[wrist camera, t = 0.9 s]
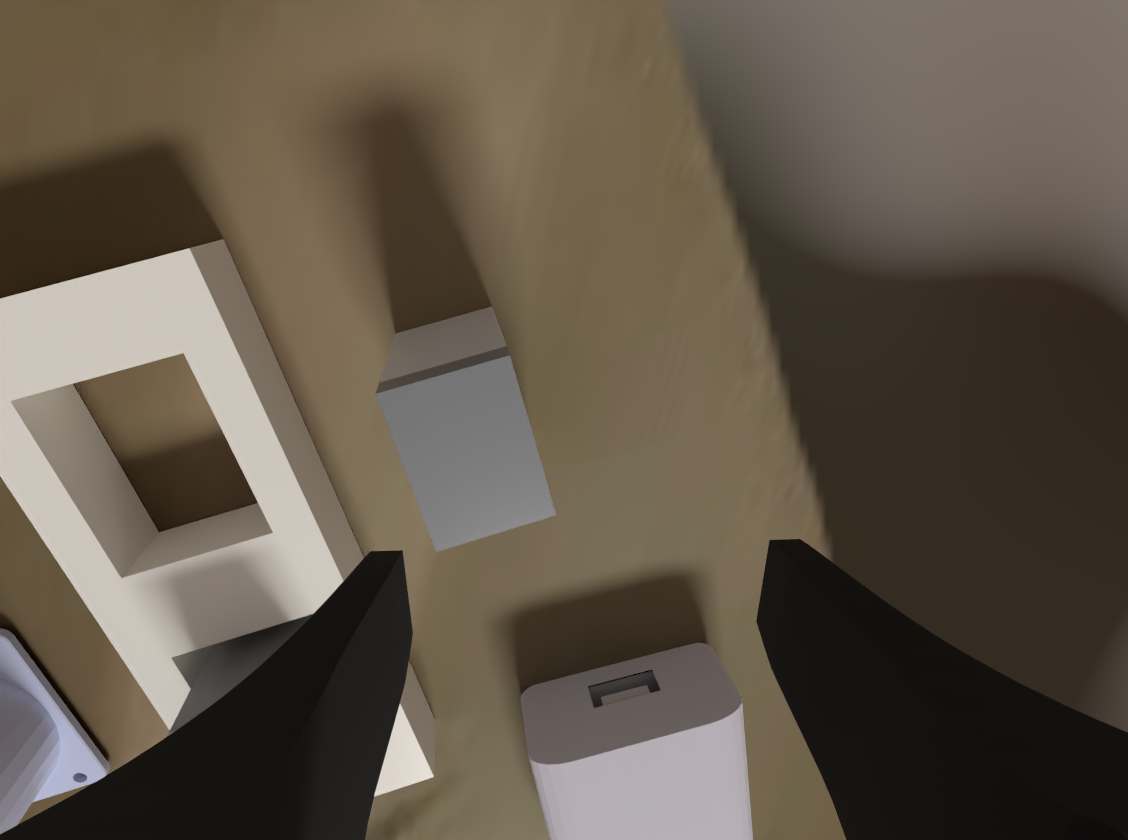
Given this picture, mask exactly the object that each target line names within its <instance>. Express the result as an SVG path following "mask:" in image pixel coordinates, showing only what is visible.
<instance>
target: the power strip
mask: <svg viewBox="0 0 1128 840" xmlns="http://www.w3.org/2000/svg"><path fill="white" fill-rule="evenodd" d="M181 353H184V355H185V357H186V359H187V361H188V363H189V365H190V367H191V369H192V371H193V373H194V375H195V377H196V379H197V381H198V383H199V385H200V387H201V389H202V391H203V393H204V395H205V397H206V399H207V401H208V403H209V405H210V407H211V409H212V411H213V413H214V415H215V417H216V419H217V421H218V423H219V425H220V427H221V429H222V431H223V433H224V435H225V437H226V439H227V441H228V443H229V445H230V447H231V449H232V451H233V453H234V455H235V457H236V459H237V461H238V463H239V465H240V467H241V469H242V471H243V473H244V476H245V478H246V480H247V482H248V484H249V486H250V488H251V490H252V492H253V494H254V496H255V498H256V500H257V502H258V503H256V504H253V505H249V506H246V507H242V508H239V509H236V510H232V511H229V512H226V513H222V514H219V515H215V516H212V517H209V518H205V519H202V520H198V521H195V522H192V523H188V524H185V525H182V526H178V527H175V528H171V529H168V530H165V531H161V532H158V530H157V528H156V526H155V525H154V523H153V521H152V519H151V518H150V516H149V514H148V513H147V511H146V509H145V507H144V506H143V504H142V502H141V500H140V499H139V497H138V495H137V494H136V492H135V490H134V488H133V487H132V485H131V483H130V481H129V480H128V478H127V476H126V475H125V473H124V471H123V469H122V468H121V466H120V464H119V463H118V461H117V459H116V457H115V456H114V454H113V452H112V450H111V449H110V447H109V445H108V444H107V442H106V440H105V438H104V437H103V435H102V433H101V431H100V430H99V428H98V426H97V425H96V423H95V421H94V419H93V418H92V416H91V414H90V412H89V411H88V409H87V407H86V406H85V404H84V402H83V400H82V399H81V397H80V395H79V393H78V392H77V390H76V388H75V387H74V385H73V383H77V382H80V381H84V380H88V379H91V378H95V377H98V376H102V375H106V374H109V373H113V372H116V371H120V370H124V369H127V368H131V367H134V366H138V365H142V364H145V363H149V362H153V361H156V360H160V359H163V358H167V357H171V356H174V355H178V354H181ZM0 476H1V478H2V479H3V481H4V482H5V484H6V485H7V487H8V488H9V490H10V491H11V493H12V494H13V496H14V497H15V499H16V500H17V502H18V503H19V505H20V506H21V508H22V509H23V511H24V512H25V514H26V515H27V517H28V518H29V520H30V521H31V523H32V524H33V526H34V527H35V529H36V530H37V532H38V533H39V535H40V536H41V538H42V539H43V541H44V542H45V544H46V545H47V547H48V548H49V550H50V551H51V553H52V554H53V556H54V557H55V559H56V560H57V562H58V563H59V565H60V566H61V568H62V569H63V571H64V572H65V574H66V575H67V577H68V578H69V580H70V581H71V583H72V584H73V586H74V587H75V589H76V590H77V592H78V593H79V595H80V596H81V598H82V599H83V601H84V602H85V604H86V605H87V607H88V608H89V610H90V611H91V613H92V614H93V616H94V617H95V619H96V620H97V622H98V623H99V625H100V626H101V628H102V629H103V631H104V632H105V634H106V635H107V637H108V638H109V640H110V641H111V643H112V644H113V646H114V647H115V649H116V650H117V652H118V653H119V655H120V656H121V658H122V659H123V661H124V662H125V664H126V665H127V667H128V668H129V670H130V671H131V673H132V674H133V676H134V677H135V679H136V680H137V682H138V683H139V685H140V686H141V688H142V689H143V691H144V692H145V694H146V695H147V697H148V698H149V700H150V701H151V703H152V704H153V706H154V707H155V709H156V710H157V712H158V713H159V715H160V716H161V718H162V719H163V721H164V722H165V724H166V725H167V727H168V728H169V730H170V729H171V727H172V725H173V723H174V721H175V719H176V717H177V716H178V714H179V712H180V710H181V708H182V706H183V704H184V702H185V700H186V698H187V696H188V694H189V692H190V690H191V688H192V686H193V684H194V682H195V680H196V678H197V676H198V674H199V672H200V670H201V668H202V666H203V664H204V662H205V660H206V658H207V656H208V654H209V652H210V650H211V648H212V646H213V645H214V644H217V643H220V642H223V641H227V640H230V639H233V638H236V637H240V636H243V635H246V634H249V633H252V632H256V631H259V630H262V629H265V628H269V627H272V626H275V625H278V624H282V623H285V622H288V621H291V620H295V619H298V618H301V617H304V616H307V615H311V614H314V613H315V612H316V611H317V609H318V608H319V607H320V606H321V605H322V604H323V603H324V602H325V601H326V600H327V599H328V598H329V597H330V596H331V595H332V593H333V592H334V591H335V590H336V589H337V588H338V587H339V586H340V585H341V583H342V582H343V581H344V580H345V579H346V578H347V577H348V576H349V574H350V573H351V572H352V571H353V570H354V569H355V568H356V566H357V565H358V564H359V563H360V562H361V561H362V560H363V559H364V557H363V555H362V553H361V550H360V548H359V546H358V543H357V541H356V539H355V537H354V534H353V532H352V530H351V528H350V525H349V523H348V521H347V518H346V516H345V514H344V512H343V509H342V507H341V505H340V503H339V500H338V498H337V496H336V493H335V491H334V489H333V487H332V484H331V482H330V480H329V478H328V475H327V473H326V471H325V468H324V466H323V464H322V462H321V459H320V457H319V455H318V453H317V450H316V448H315V446H314V443H313V441H312V439H311V437H310V434H309V432H308V430H307V428H306V425H305V423H304V421H303V418H302V416H301V414H300V412H299V409H298V407H297V405H296V403H295V400H294V398H293V396H292V393H291V391H290V389H289V387H288V384H287V382H286V380H285V378H284V375H283V373H282V371H281V368H280V366H279V364H278V362H277V359H276V357H275V355H274V353H273V350H272V348H271V346H270V343H269V341H268V339H267V337H266V334H265V332H264V330H263V328H262V325H261V323H260V321H259V318H258V316H257V314H256V312H255V309H254V307H253V305H252V303H251V300H250V298H249V296H248V293H247V291H246V289H245V287H244V284H243V282H242V280H241V278H240V275H239V273H238V271H237V268H236V266H235V264H234V262H233V259H232V257H231V255H230V252H229V250H228V248H227V246H226V243H225V241H224V239H222V240H218V241H214V242H211V243H207V244H203V245H199V246H196V247H192V248H188V249H184V250H181V251H177V252H173V253H169V254H166V255H162V256H158V257H154V258H151V259H147V260H143V261H139V262H136V263H132V264H128V265H124V266H121V267H117V268H113V269H109V270H106V271H102V272H98V273H94V274H90V275H87V276H83V277H79V278H75V279H72V280H68V281H64V282H60V283H57V284H53V285H49V286H45V287H42V288H38V289H34V290H30V291H27V292H23V293H19V294H15V295H12V296H8V297H4V298H0ZM434 755H435V719H434V716H433V714H432V712H431V709H430V707H429V705H428V703H427V700H426V698H425V696H424V694H423V691H422V689H421V687H420V684H419V682H418V680H417V678H416V675H415V673H414V671H413V669H412V666H411V664H410V662H408V669H407V675H406V681H405V685H404V689H403V693H402V697H401V701H400V704H399V708H398V712H397V715H396V719H395V723H394V726H393V730H392V733H391V737H390V741H389V744H388V748H387V751H386V755H385V759H384V762H383V766H382V769H381V773H380V777H379V780H378V784H377V787H376V791H375V795H374V797H375V796H378V795H381V794H384V793H387V792H390V791H393V790H396V789H399V788H402V787H405V786H408V785H411V784H414V783H417V782H420V781H423V780H426V779H429V778H432V777H434Z"/></svg>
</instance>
